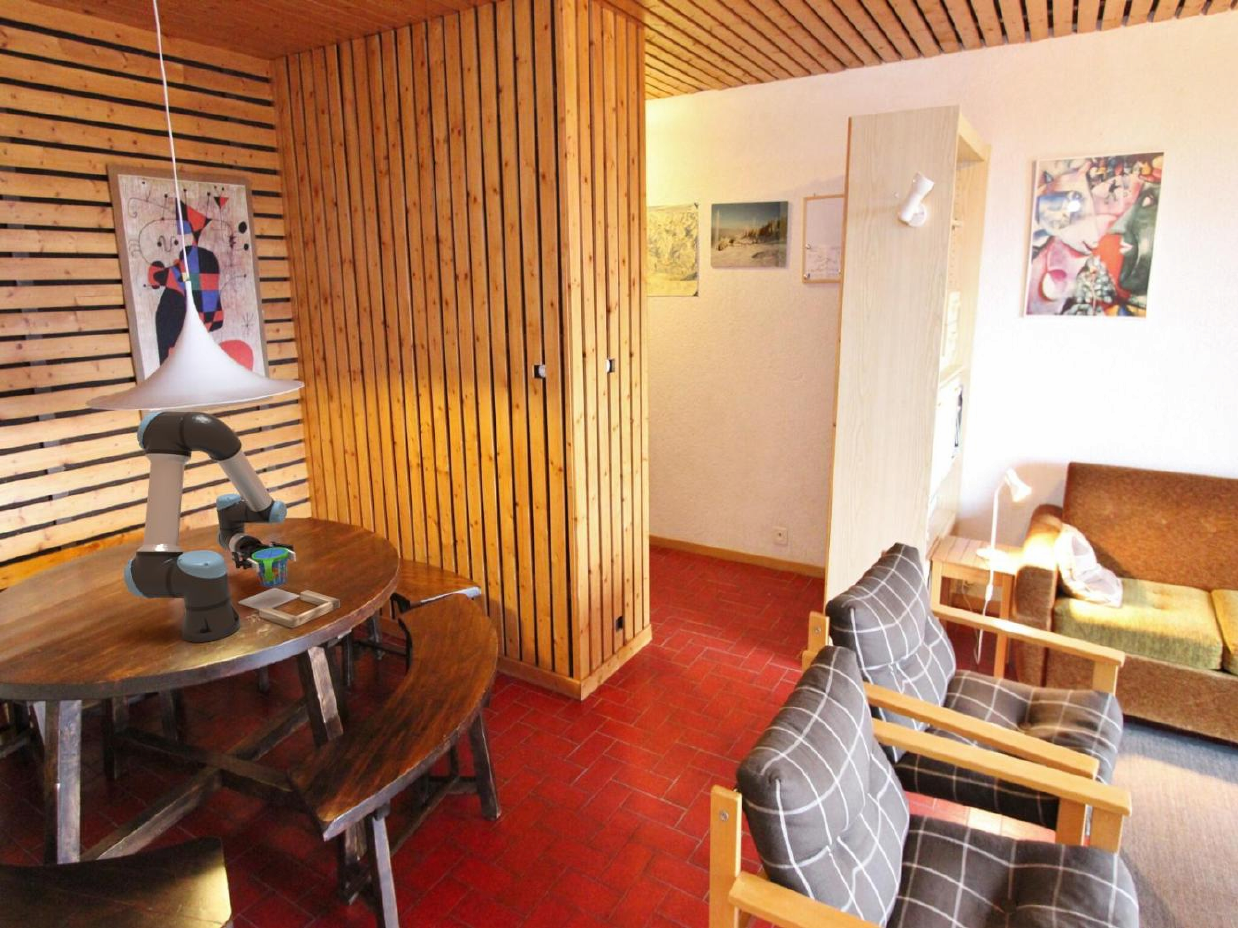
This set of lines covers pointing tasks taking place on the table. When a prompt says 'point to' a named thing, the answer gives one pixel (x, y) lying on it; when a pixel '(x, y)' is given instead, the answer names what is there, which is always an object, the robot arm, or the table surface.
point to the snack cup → (272, 566)
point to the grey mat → (269, 599)
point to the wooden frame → (292, 621)
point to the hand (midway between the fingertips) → (276, 562)
